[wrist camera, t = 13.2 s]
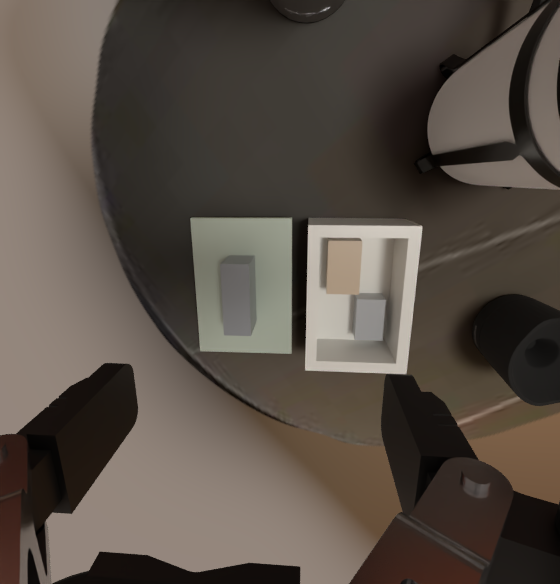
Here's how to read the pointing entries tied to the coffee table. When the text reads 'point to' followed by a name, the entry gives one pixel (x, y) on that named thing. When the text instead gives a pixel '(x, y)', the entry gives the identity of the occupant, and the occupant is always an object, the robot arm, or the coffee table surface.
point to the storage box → (360, 293)
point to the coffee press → (502, 108)
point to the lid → (243, 283)
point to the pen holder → (522, 346)
